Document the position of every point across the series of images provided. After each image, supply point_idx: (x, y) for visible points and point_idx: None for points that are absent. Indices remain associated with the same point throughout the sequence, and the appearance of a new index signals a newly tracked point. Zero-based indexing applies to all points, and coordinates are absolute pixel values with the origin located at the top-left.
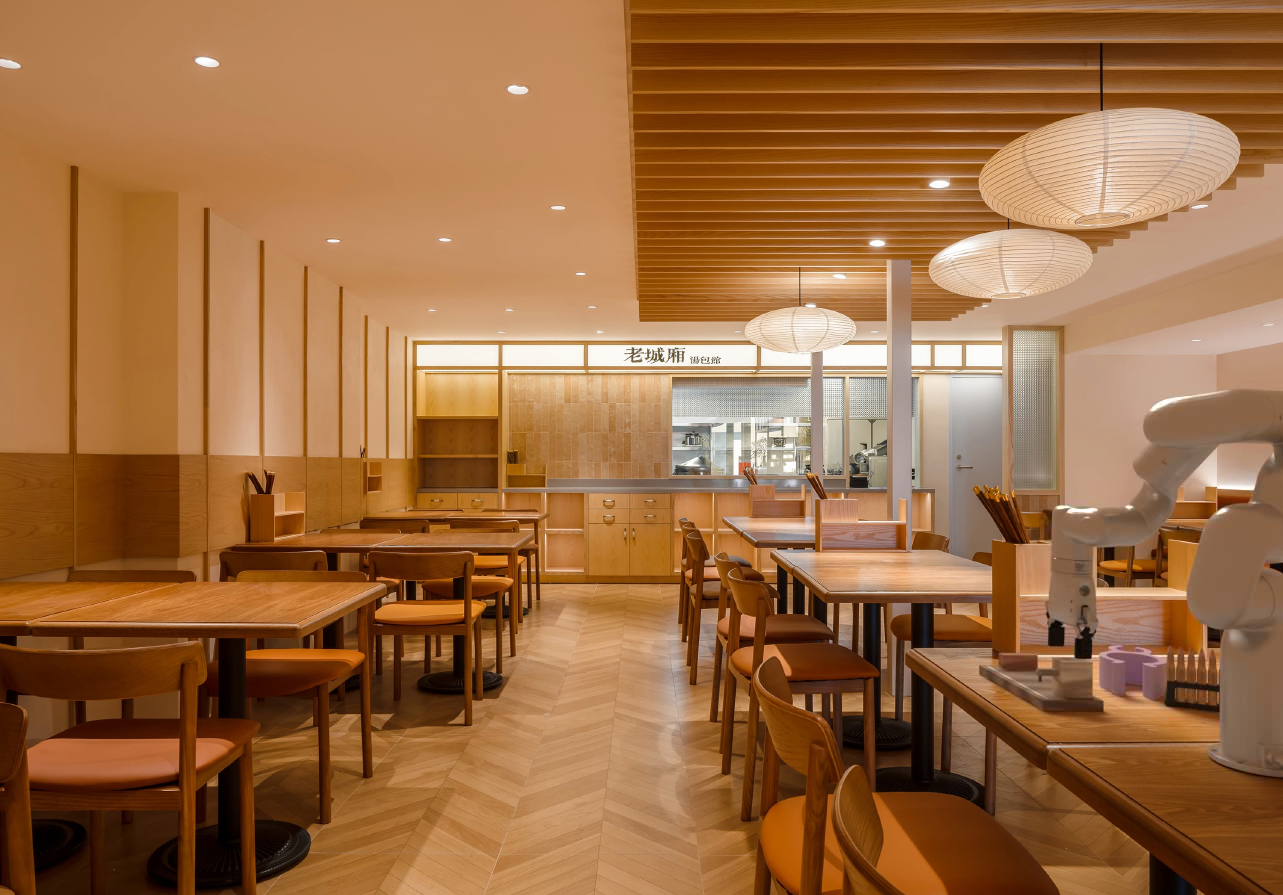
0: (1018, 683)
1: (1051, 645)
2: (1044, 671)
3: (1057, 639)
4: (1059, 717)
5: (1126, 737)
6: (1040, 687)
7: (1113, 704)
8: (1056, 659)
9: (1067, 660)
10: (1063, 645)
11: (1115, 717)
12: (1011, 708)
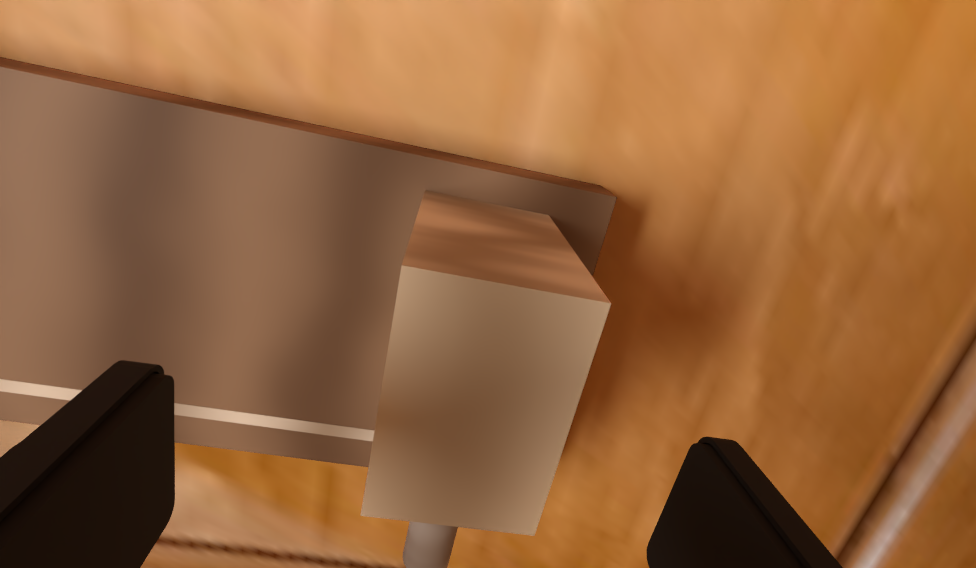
0: (206, 417)
1: (173, 505)
2: (452, 540)
3: (129, 510)
4: (613, 445)
5: (899, 374)
6: (298, 356)
7: (505, 4)
8: (434, 521)
9: (495, 472)
10: (169, 381)
11: (699, 208)
12: (461, 539)
